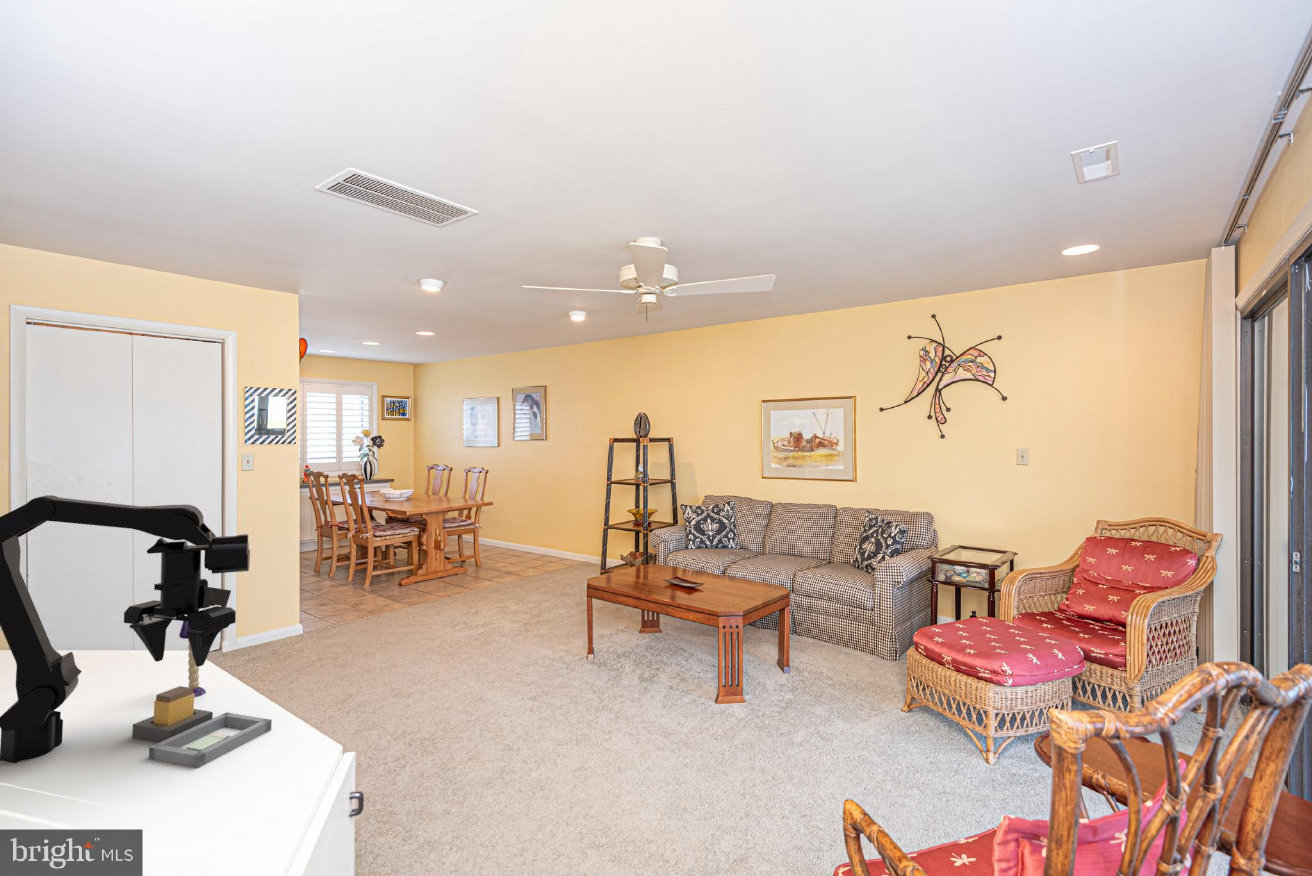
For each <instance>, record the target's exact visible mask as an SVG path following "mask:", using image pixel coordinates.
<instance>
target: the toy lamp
mask: <svg viewBox="0 0 1312 876" xmlns="http://www.w3.org/2000/svg"><path fill="white" fill-rule="evenodd" d="M179 631H180V632H179V639H184V640H185V639H187V642H188V643H189V644H188V662H187V665H188V669H187V671H188V681H189V682H188V687H189V688H193V693H194V698H197V697H201V696H204V695H205V694H206V692H207V691H206V690H205V689H204V687H201V686H200V681H199V679H200V678H199V677H200V674H199V671H200V666H199V667H197V666H196V664H195V661H194V658H193V654H192V650H191V646H190V642H189V638H188V634H187V632H189V631H192V630H191V629H190V627H189V626H188V621H182V624H181V628H180V630H179Z"/></svg>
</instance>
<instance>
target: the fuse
mask: <svg viewBox="0 0 1312 876" xmlns="http://www.w3.org/2000/svg"><path fill="white" fill-rule="evenodd" d="M228 737H230V735H229V734H224V733H220V732H215V733H213V734H210V735H209V736H207V737H205V738H203V739H201V740H198V741H197V742H196V741H195V743H194V742H193V743H192V744H191V745H188V746H186V749H187V750H193V751H198V752H200V751H202V750H204V749H206V748H208V747H210V746H212V745H214V744H216V743H218V742H220V741H222V740H224V739H226V738H228Z"/></svg>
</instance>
